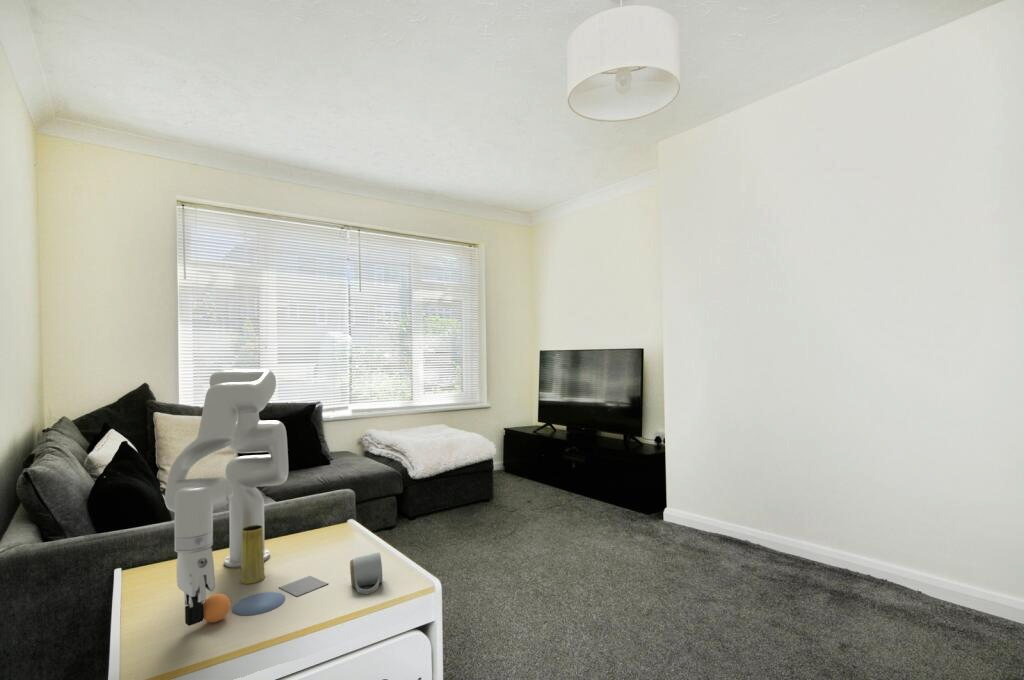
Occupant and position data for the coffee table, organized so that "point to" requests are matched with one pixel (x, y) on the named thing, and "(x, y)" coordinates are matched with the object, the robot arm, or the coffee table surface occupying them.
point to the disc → (258, 603)
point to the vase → (252, 555)
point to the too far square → (303, 586)
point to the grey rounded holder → (366, 572)
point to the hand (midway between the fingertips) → (194, 622)
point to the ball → (216, 607)
